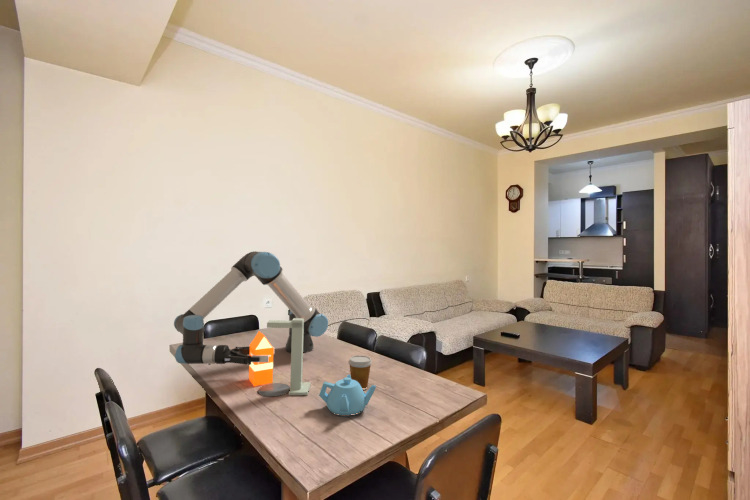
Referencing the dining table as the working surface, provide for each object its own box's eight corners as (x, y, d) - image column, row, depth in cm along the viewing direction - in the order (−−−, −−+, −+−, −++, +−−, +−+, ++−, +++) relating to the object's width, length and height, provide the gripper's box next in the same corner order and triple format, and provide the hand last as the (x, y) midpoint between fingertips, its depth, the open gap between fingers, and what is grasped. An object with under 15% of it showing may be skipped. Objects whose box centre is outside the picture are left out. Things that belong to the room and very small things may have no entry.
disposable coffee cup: (374, 385, 144) (375, 356, 144) (366, 394, 135) (367, 363, 135) (353, 382, 147) (353, 353, 147) (343, 390, 138) (344, 360, 138)
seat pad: (254, 396, 130) (254, 395, 130) (262, 384, 142) (262, 383, 142) (286, 396, 131) (287, 395, 131) (292, 384, 143) (292, 383, 143)
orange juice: (266, 375, 151) (268, 329, 151) (273, 382, 144) (274, 334, 144) (248, 379, 147) (249, 331, 147) (253, 386, 139) (254, 336, 139)
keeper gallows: (263, 395, 131) (265, 321, 131) (269, 385, 141) (271, 316, 141) (307, 395, 132) (309, 322, 132) (310, 385, 142) (312, 316, 142)
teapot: (349, 395, 134) (350, 367, 134) (377, 409, 123) (377, 379, 123) (316, 407, 123) (317, 377, 123) (343, 423, 112) (343, 390, 112)
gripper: (226, 354, 155) (277, 355, 157) (205, 373, 133) (264, 373, 134) (226, 338, 155) (277, 338, 157) (205, 353, 133) (265, 354, 134)
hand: (271, 354), depth 146 cm, fingers closed on orange juice, 10 cm apart
